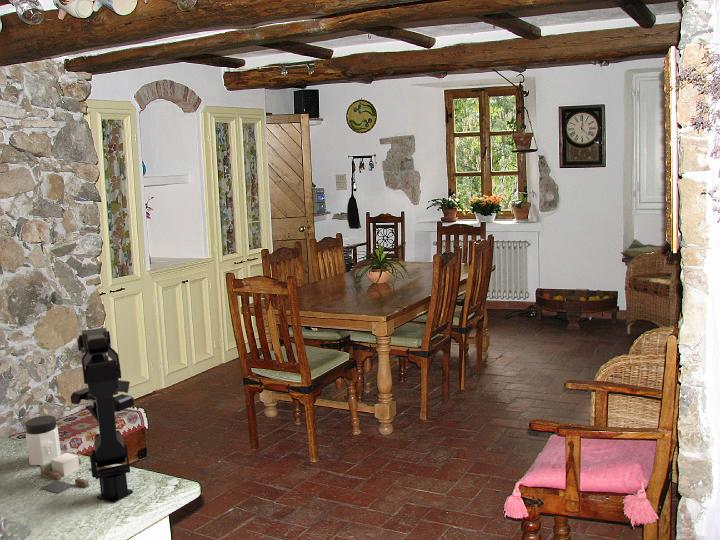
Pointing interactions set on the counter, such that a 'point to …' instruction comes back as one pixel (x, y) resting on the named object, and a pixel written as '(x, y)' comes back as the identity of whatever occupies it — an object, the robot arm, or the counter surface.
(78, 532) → the counter surface
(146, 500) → the counter surface
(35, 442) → the jar
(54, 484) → the mat
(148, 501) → the counter surface
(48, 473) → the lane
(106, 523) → the counter surface
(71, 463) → the block
